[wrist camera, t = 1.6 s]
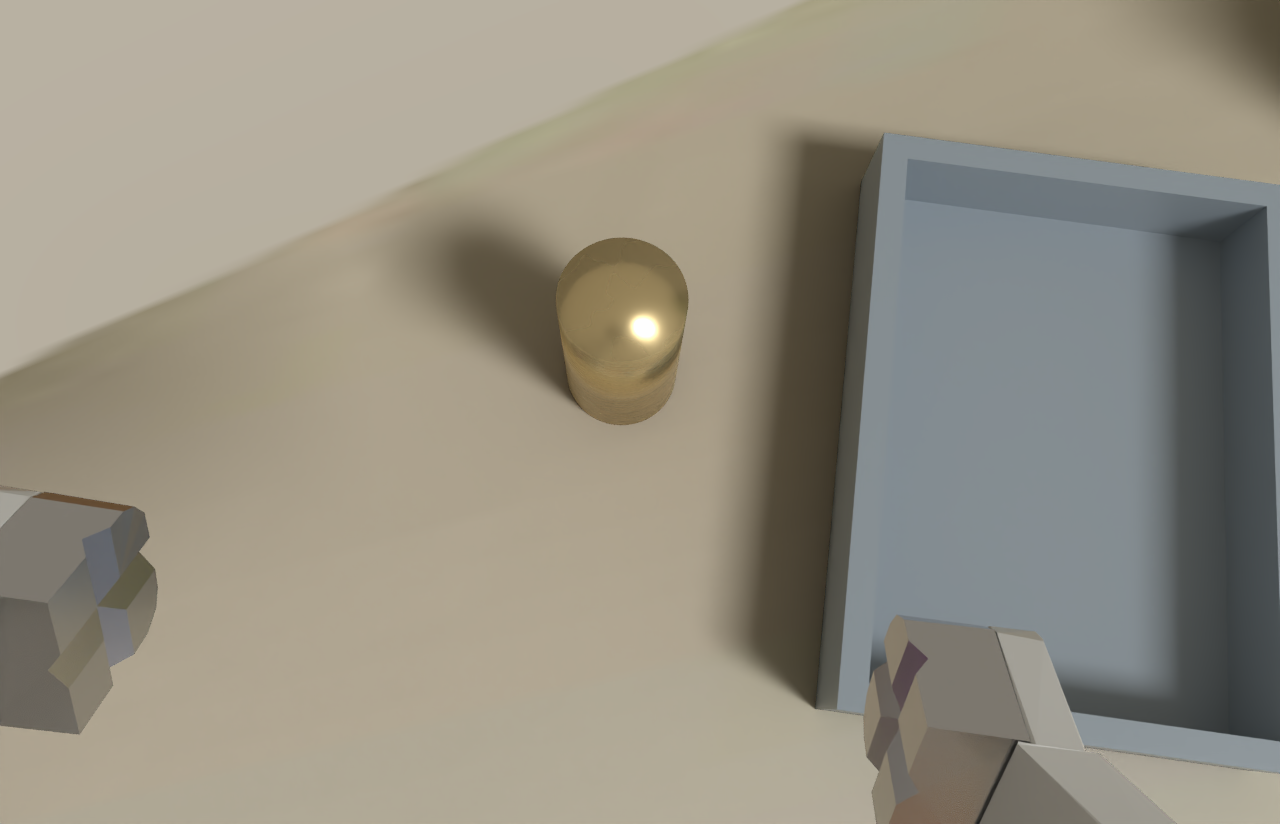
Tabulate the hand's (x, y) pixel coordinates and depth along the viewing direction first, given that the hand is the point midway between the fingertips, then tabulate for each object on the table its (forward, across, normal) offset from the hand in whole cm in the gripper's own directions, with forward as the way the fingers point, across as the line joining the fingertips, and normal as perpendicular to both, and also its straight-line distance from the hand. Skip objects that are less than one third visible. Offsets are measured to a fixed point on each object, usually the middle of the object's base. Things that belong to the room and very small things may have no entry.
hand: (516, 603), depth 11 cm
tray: (+27, +17, -13) cm, 35 cm away
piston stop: (+28, 0, -13) cm, 31 cm away
